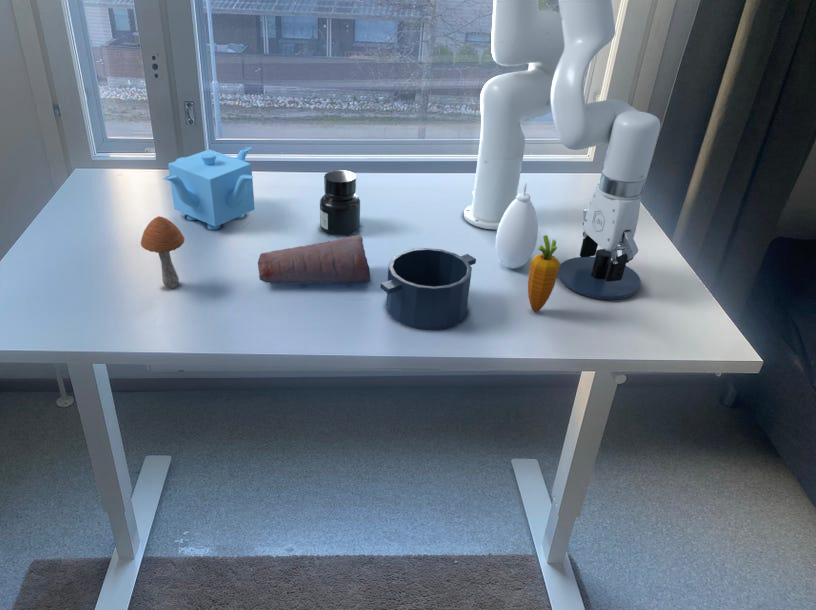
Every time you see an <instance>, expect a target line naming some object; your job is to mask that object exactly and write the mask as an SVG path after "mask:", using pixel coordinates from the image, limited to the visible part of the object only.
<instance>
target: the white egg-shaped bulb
mask: <svg viewBox="0 0 816 610" xmlns="http://www.w3.org/2000/svg"><path fill="white" fill-rule="evenodd" d="M526 192H527V182H525V183H524V185H523V190H522V192H520V193H517V196H516V199H515V200H514V201H513V202H512V203H511V204H510V205H509V207H508V208H507V210H506V211H505V213H504V215H503V217H502V219H501V221H500V224H499V227H498V230H496V236H495V252H496V255H497V258H498V261H499V262H500V263H501V264H503V266H504V267H506V268H508V269H519V268H520V267H523V266H524V265H526V264H527V262H528V261H529V260H530V258H531V257H532V255H533V254H534V251H535V248H536V246H537V241H538V232H539V229H538V227H539V225H538V217H537V212H536V209H535V206H534V204H533V202H532V200H531V195H530V194H528V193H526Z"/></svg>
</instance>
